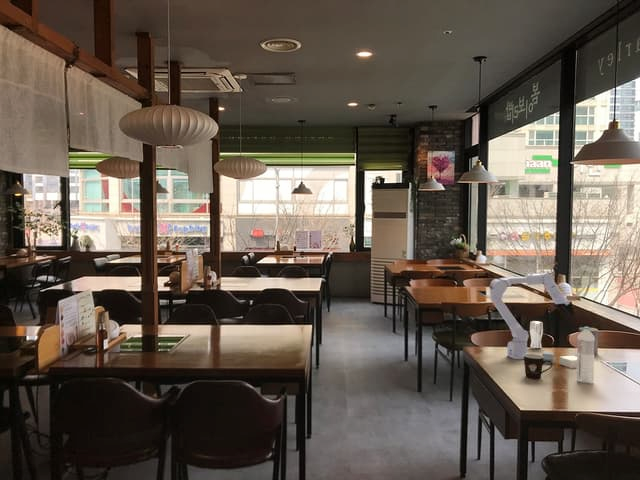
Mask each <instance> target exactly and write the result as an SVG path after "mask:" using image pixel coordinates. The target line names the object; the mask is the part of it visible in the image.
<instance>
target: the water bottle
mask: <svg viewBox="0 0 640 480" xmlns="http://www.w3.org/2000/svg"><path fill="white" fill-rule="evenodd" d="M589 328H590V326H589V327H588V326H584V330H583V331H582V332H580V333H579V332H578V335H577V352H576V353H577V355H576V357H577V368H576V382H578V383H580V384H585V385H591V384H594V378H595V377H594V376H595V374H594V373H595V355H594V340H595V337H594V335H593V334H592V333H591V332H590V331H588V329H589Z"/></svg>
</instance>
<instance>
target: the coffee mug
mask: <svg viewBox="0 0 640 480" xmlns="http://www.w3.org/2000/svg"><path fill="white" fill-rule="evenodd" d="M543 359H544V357H543V356H542V354H541V355H540V354H537V353H536V354H534V353H527V354H525V355H524V359H523V362H524V363H523V364H524V371H525V372H524V373H525V378H527V379H529V380H536V381H537V380H541V378H542V375H543V373H545V372H547V371H549V370H551V369H552V368H553V364H552V362H551V361H548V360H546V361H543ZM545 362H550V363H551V364H550V366H549V368H546V369H544V370H543V365H544V364H546V363H545Z"/></svg>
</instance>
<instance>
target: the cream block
mask: <svg viewBox="0 0 640 480" xmlns="http://www.w3.org/2000/svg"><path fill="white" fill-rule="evenodd" d="M558 359H559V363H558V364H559V365H562V366H563V367H564V366H565V367H567V368H570V369H573V368H575V369H577V356H575V355H563V356H561V355H560V356H559V357H558Z"/></svg>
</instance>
